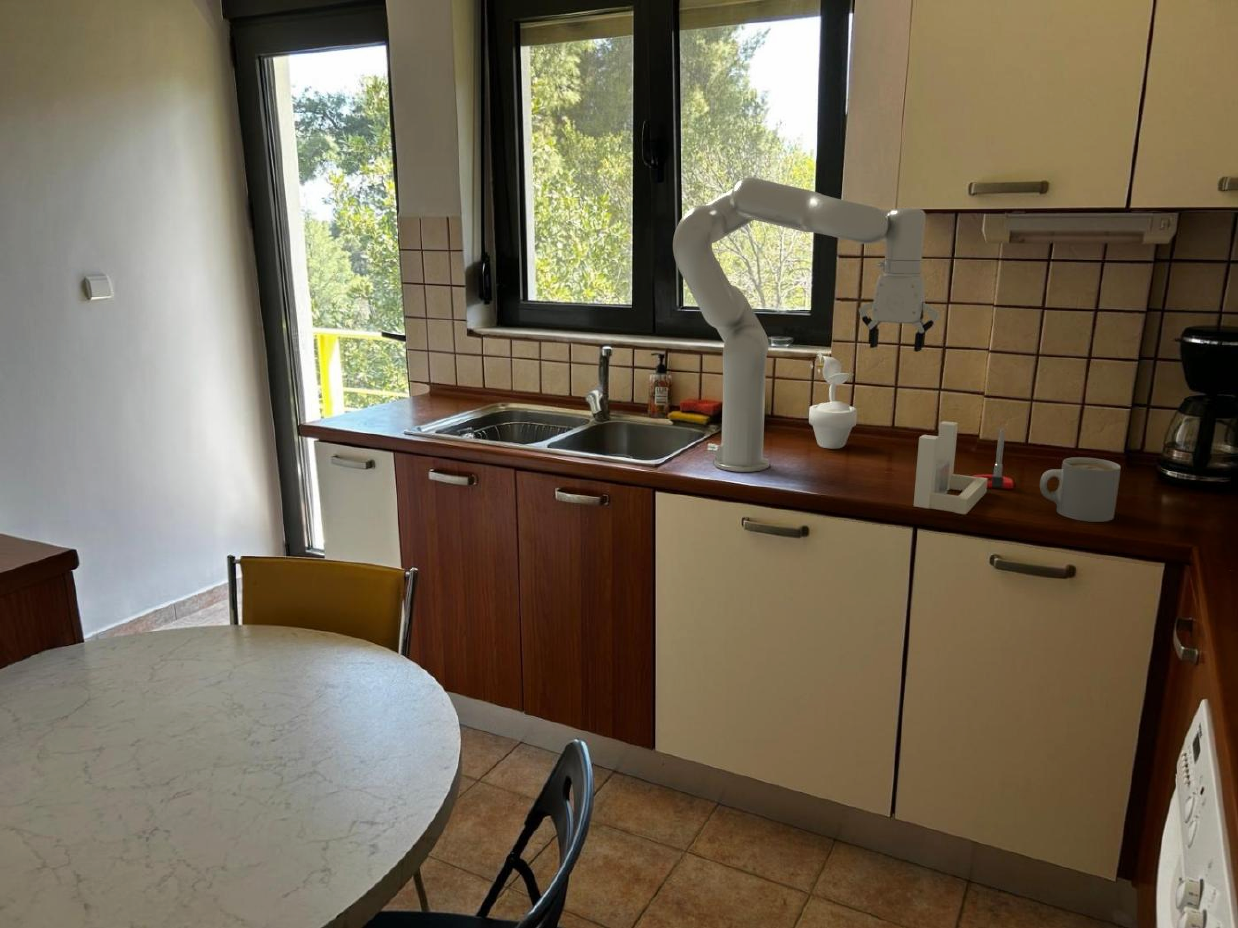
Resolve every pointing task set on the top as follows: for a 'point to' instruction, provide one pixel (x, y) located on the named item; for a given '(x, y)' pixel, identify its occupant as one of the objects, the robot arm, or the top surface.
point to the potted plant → (832, 410)
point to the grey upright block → (941, 476)
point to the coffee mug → (1084, 488)
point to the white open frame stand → (926, 472)
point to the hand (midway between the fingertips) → (895, 349)
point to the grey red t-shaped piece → (998, 469)
